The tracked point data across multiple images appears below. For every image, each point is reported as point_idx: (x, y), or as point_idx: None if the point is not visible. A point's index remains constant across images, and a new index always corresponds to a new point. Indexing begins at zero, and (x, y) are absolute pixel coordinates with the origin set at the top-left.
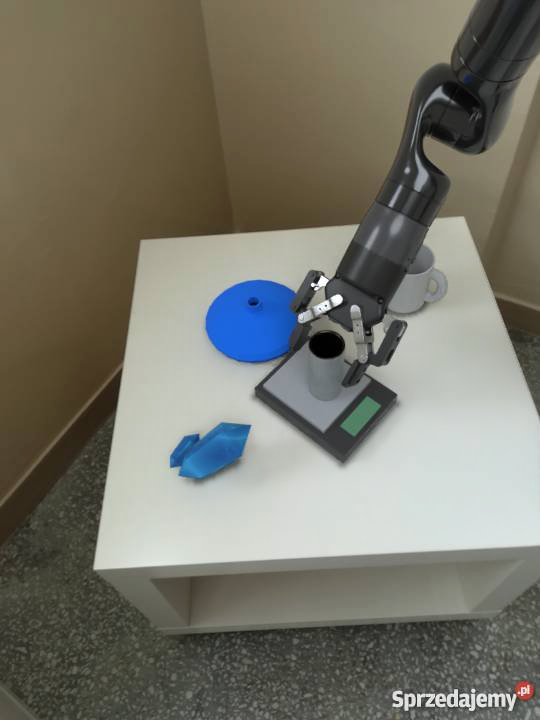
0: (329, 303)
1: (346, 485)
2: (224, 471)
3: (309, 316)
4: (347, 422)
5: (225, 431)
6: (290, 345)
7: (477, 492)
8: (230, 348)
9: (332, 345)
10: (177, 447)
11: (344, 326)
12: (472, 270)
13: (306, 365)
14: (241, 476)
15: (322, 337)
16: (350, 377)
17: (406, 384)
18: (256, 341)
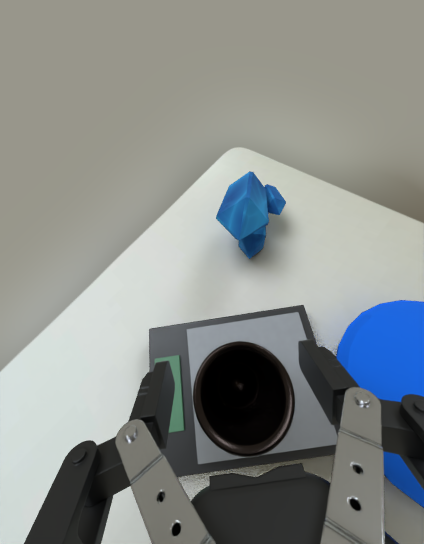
0: (357, 532)
1: (137, 317)
2: None
3: (354, 421)
4: (174, 366)
5: (244, 200)
6: (311, 342)
7: (6, 437)
8: (387, 311)
9: (255, 427)
10: (278, 193)
11: (235, 484)
12: None
13: None
14: (221, 244)
15: (278, 412)
16: (151, 379)
17: None
18: (381, 350)
